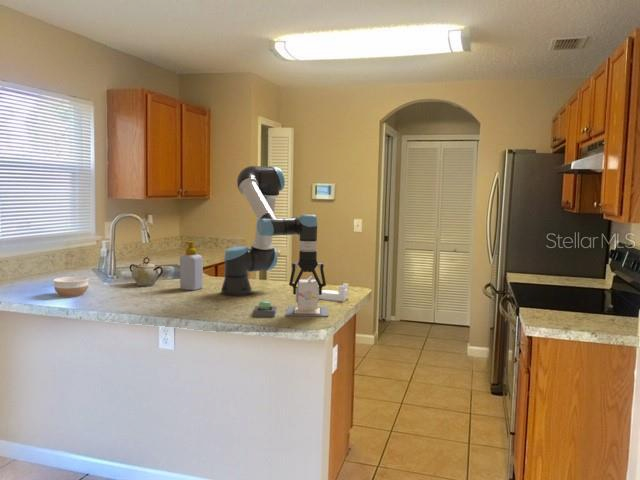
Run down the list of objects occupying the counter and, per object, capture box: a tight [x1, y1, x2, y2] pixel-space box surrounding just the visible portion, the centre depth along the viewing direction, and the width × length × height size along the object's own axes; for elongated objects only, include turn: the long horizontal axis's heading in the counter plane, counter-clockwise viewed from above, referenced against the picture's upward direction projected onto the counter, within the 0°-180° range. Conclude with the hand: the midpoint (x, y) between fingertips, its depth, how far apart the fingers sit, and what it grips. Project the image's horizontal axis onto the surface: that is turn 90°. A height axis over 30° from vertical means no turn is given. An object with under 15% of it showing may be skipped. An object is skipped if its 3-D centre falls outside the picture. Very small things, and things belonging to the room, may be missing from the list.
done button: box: [258, 300, 272, 310], centre depth 226 cm, size 5×5×3 cm
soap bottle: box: [179, 240, 204, 291], centre depth 277 cm, size 9×9×25 cm
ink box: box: [297, 275, 319, 309], centre depth 231 cm, size 9×8×13 cm
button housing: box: [252, 305, 277, 318], centre depth 227 cm, size 9×9×2 cm
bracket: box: [319, 283, 349, 302], centre depth 259 cm, size 13×7×8 cm, turn 70°
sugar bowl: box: [129, 256, 164, 287], centre depth 288 cm, size 20×15×15 cm
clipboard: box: [285, 305, 329, 318], centre depth 232 cm, size 18×16×1 cm
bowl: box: [52, 275, 90, 298], centre depth 259 cm, size 16×16×8 cm
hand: (307, 301), depth 231 cm, fingers closed on ink box, 9 cm apart
